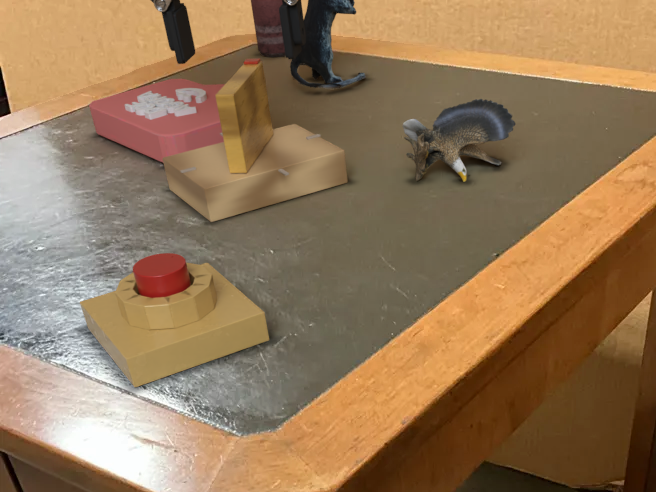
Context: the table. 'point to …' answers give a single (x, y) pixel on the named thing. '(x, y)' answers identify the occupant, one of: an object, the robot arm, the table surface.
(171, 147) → the plaque
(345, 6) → the sculpture
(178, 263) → the button
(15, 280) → the table surface
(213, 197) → the stand
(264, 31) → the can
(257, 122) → the wooden block
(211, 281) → the switch
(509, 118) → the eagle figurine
